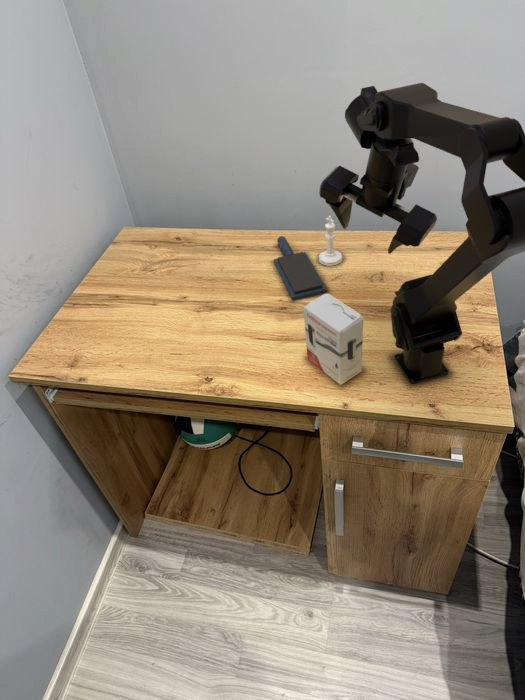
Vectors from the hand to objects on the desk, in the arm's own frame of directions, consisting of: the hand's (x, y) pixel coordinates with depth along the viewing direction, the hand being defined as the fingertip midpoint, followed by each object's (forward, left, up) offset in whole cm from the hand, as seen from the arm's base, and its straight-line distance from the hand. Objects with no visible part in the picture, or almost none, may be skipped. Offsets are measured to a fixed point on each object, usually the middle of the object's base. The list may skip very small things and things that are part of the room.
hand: (367, 239), depth 88 cm
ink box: (-16, +12, -12) cm, 23 cm away
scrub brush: (+13, +10, -12) cm, 21 cm away
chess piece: (+13, +2, -12) cm, 18 cm away
